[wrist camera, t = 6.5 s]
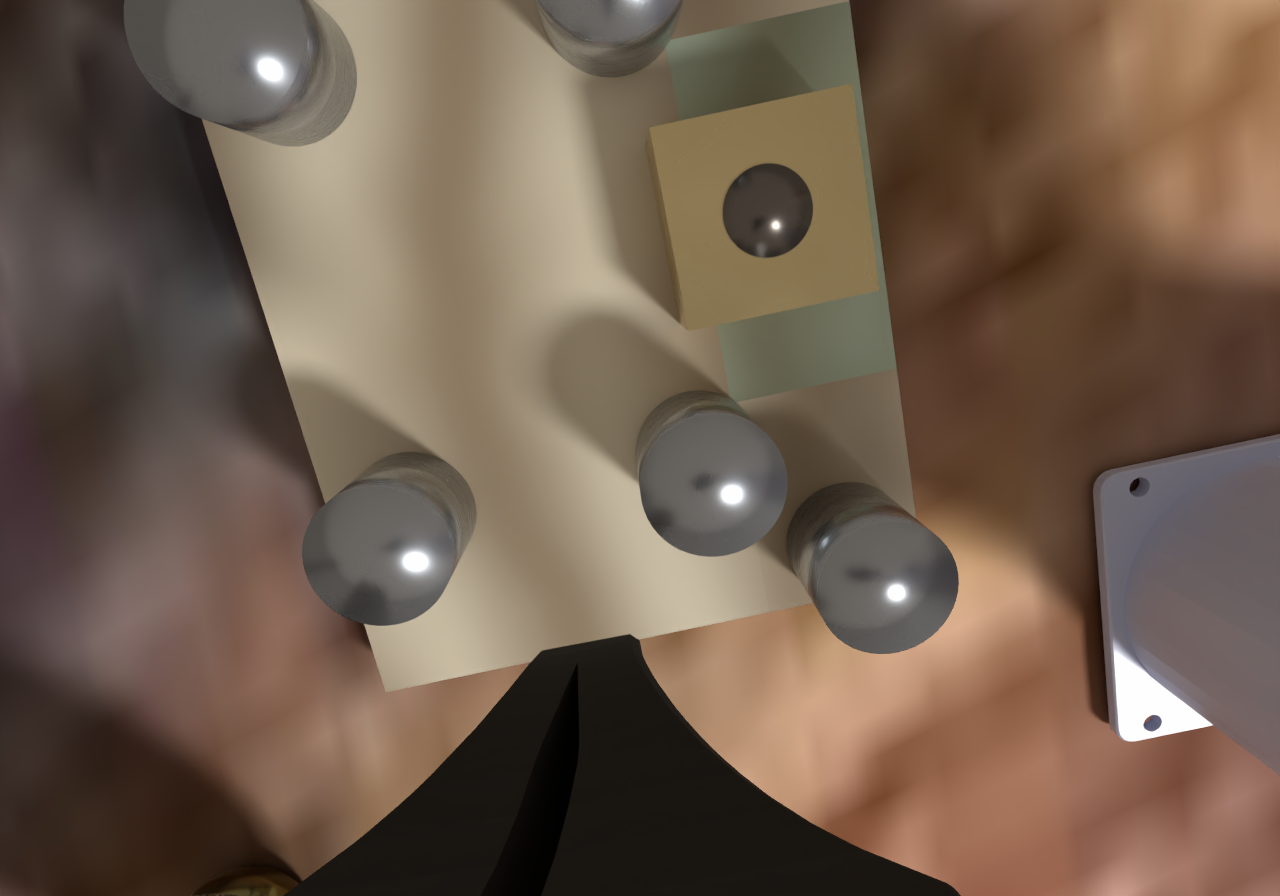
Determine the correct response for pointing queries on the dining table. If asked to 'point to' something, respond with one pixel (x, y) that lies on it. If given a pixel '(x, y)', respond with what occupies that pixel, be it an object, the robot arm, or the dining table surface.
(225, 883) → the cup
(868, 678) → the dining table surface
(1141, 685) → the robot arm
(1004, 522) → the dining table surface
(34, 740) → the dining table surface
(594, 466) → the birch board
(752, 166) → the brass nut
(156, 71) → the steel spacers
